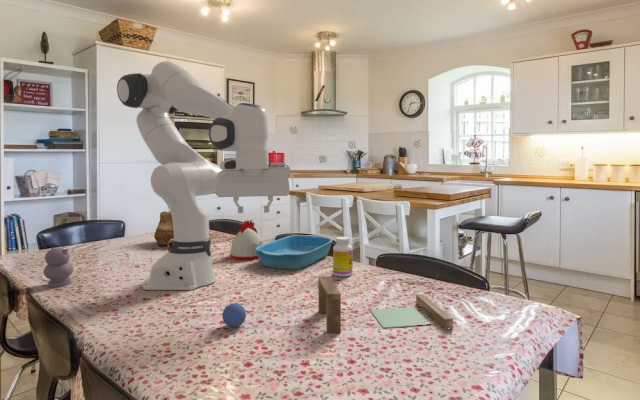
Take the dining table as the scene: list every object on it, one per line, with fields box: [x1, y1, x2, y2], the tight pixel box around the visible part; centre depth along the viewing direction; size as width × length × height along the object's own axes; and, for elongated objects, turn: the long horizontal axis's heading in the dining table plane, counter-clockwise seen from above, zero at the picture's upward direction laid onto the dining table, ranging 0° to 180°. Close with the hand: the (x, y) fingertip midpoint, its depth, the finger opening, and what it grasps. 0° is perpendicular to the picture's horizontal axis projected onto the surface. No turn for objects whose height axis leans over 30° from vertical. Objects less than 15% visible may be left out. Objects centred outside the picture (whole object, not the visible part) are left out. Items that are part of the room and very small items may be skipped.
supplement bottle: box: [332, 236, 353, 278], centre depth 147 cm, size 7×7×13 cm
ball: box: [221, 302, 247, 328], centre depth 102 cm, size 6×6×6 cm
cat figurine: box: [43, 247, 74, 289], centre depth 137 cm, size 8×8×12 cm
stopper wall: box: [415, 293, 454, 329], centre depth 109 cm, size 2×18×2 cm, turn 9°
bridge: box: [317, 275, 342, 334], centre depth 105 cm, size 3×15×9 cm, turn 9°
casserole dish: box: [256, 234, 333, 270], centre depth 168 cm, size 37×22×7 cm, turn 154°
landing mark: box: [369, 306, 431, 329], centre depth 108 cm, size 12×12×1 cm
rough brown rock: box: [153, 210, 174, 246], centre depth 199 cm, size 23×17×15 cm
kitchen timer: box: [229, 219, 264, 261], centre depth 174 cm, size 14×14×15 cm
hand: (253, 212), depth 119 cm, fingers open, 6 cm apart
